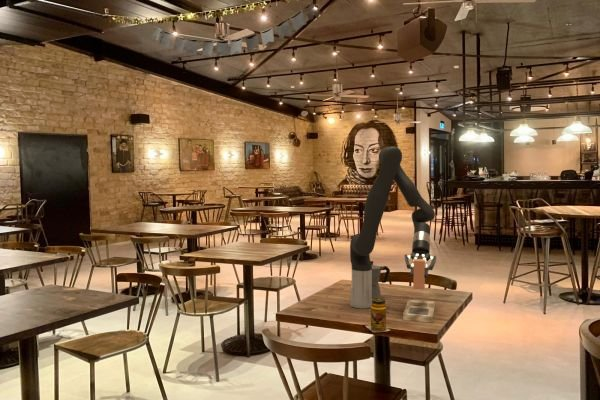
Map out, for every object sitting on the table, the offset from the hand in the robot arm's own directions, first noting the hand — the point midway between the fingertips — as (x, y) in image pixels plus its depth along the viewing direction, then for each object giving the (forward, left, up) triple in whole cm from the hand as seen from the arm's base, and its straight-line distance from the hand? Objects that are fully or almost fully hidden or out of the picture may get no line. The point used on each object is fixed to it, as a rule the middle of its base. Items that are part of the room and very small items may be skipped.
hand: (419, 276), depth 218 cm
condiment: (-15, -19, -18) cm, 30 cm away
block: (0, +2, -5) cm, 6 cm away
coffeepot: (-24, +28, -18) cm, 41 cm away
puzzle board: (0, +7, -18) cm, 19 cm away
